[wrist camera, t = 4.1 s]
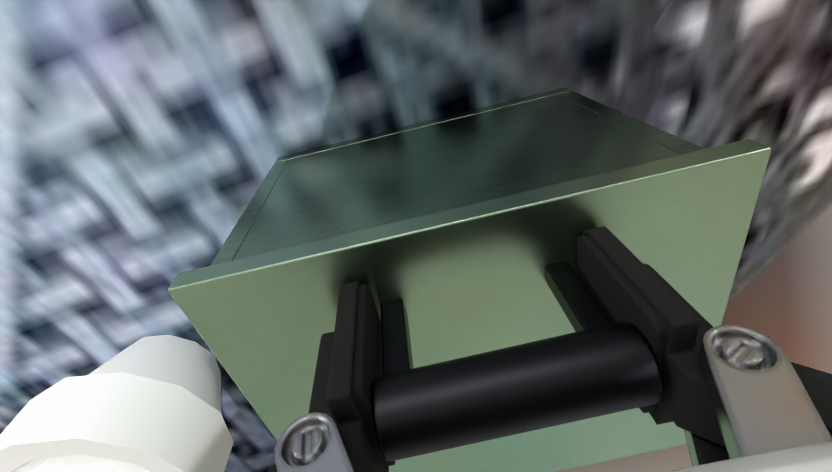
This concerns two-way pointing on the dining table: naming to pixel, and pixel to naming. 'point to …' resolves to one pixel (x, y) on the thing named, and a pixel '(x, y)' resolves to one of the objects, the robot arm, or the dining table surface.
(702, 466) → the robot arm
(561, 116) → the green storage bin
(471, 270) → the bin lid
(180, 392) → the potted plant
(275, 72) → the dining table surface
